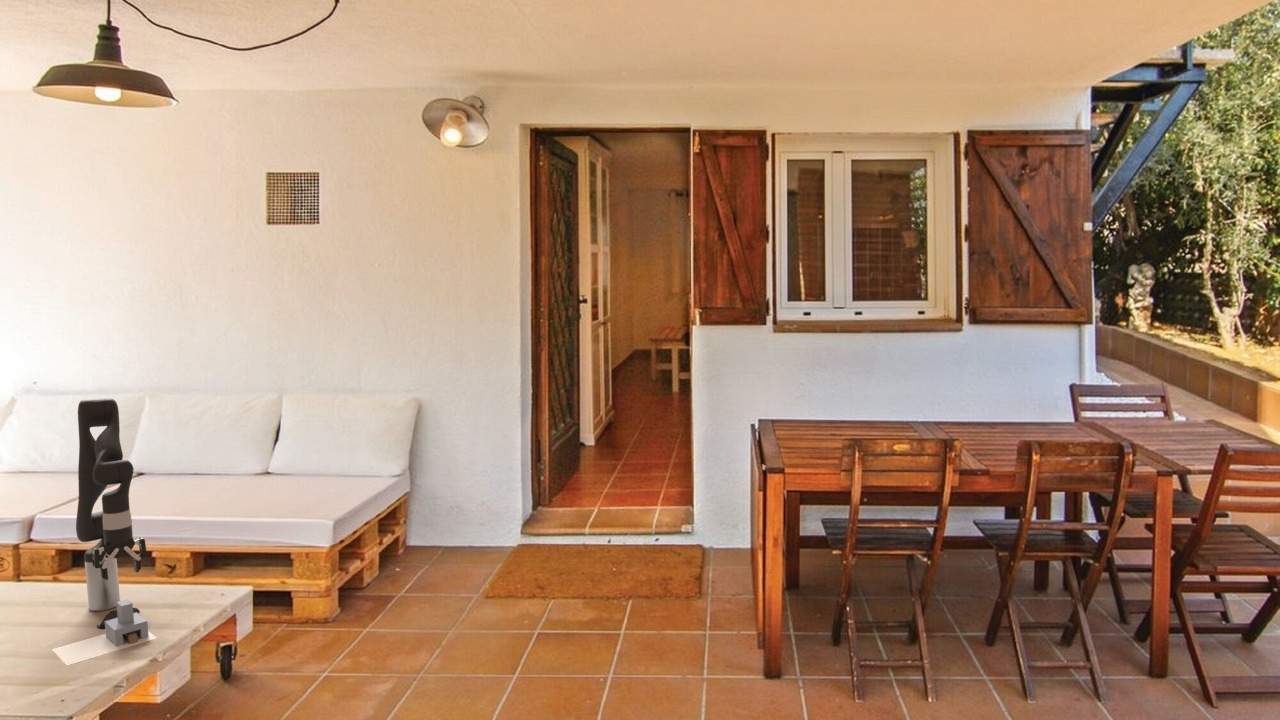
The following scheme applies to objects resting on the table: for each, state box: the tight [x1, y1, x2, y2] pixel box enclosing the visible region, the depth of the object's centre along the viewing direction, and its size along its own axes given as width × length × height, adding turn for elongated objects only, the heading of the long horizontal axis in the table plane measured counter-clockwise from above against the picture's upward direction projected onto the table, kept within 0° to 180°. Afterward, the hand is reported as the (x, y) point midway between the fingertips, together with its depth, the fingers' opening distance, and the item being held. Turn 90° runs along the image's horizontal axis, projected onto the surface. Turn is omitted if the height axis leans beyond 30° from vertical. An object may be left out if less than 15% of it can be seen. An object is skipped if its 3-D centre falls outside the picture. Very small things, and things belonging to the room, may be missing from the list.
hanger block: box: [104, 598, 149, 647], centre depth 261 cm, size 10×9×11 cm
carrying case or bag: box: [96, 607, 141, 630], centre depth 275 cm, size 11×3×15 cm
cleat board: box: [51, 630, 157, 666], centre depth 257 cm, size 16×24×4 cm, turn 138°
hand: (121, 575), depth 259 cm, fingers open, 8 cm apart
